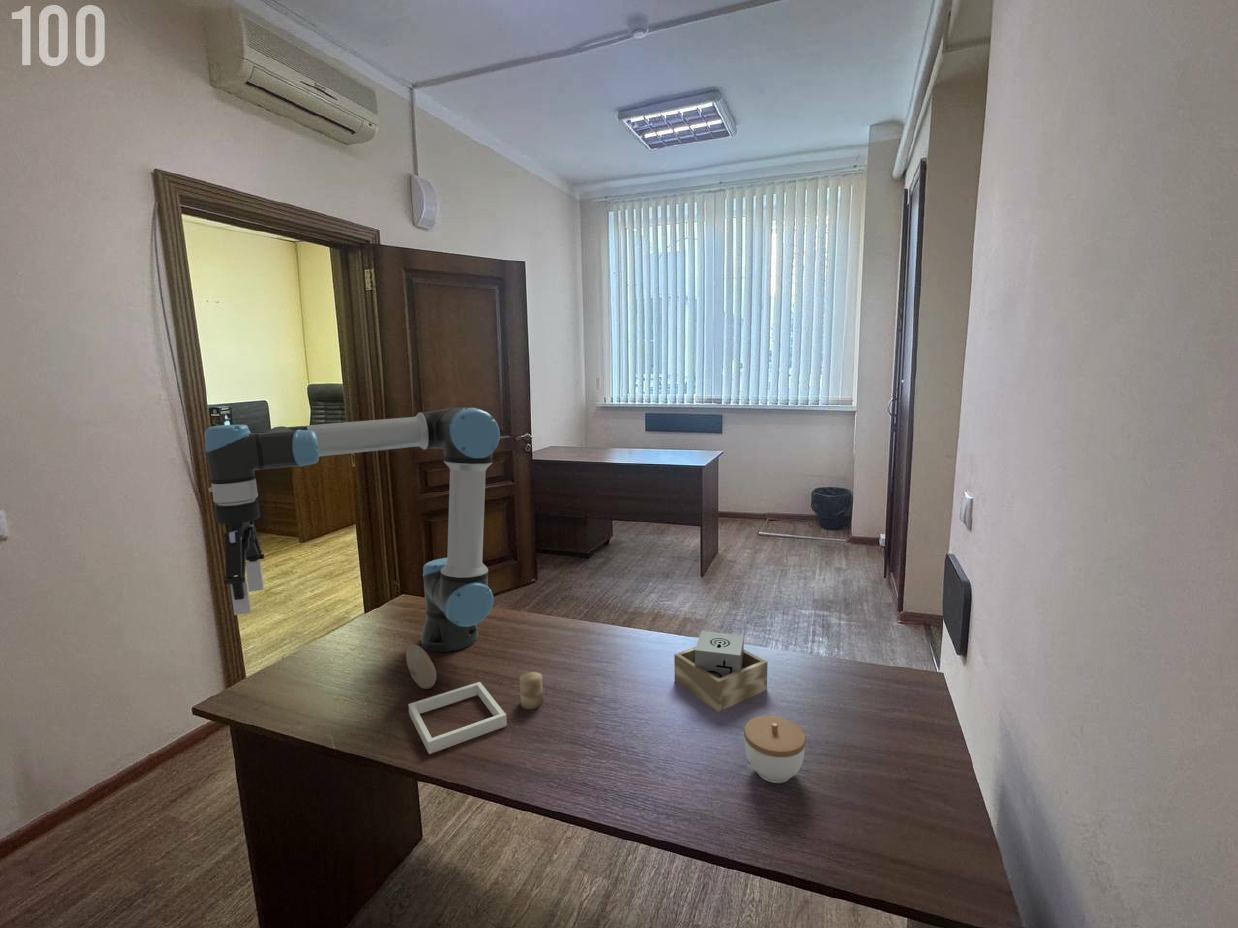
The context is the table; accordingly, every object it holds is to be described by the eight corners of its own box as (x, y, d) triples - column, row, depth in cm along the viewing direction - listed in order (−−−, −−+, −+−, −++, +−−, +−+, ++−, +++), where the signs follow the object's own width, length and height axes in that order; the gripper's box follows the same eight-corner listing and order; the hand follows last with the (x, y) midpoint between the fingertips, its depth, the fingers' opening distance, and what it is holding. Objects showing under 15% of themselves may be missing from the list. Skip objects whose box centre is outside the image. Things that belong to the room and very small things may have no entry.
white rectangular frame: (480, 691, 132) (479, 681, 132) (506, 725, 119) (506, 714, 119) (409, 714, 124) (408, 703, 124) (429, 754, 111) (428, 742, 110)
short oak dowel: (537, 694, 131) (536, 669, 130) (547, 704, 127) (545, 679, 126) (517, 701, 128) (515, 676, 127) (526, 711, 124) (525, 686, 123)
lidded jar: (771, 745, 111) (772, 700, 110) (817, 776, 102) (819, 728, 101) (731, 766, 106) (731, 719, 104) (775, 801, 97) (777, 750, 95)
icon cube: (739, 697, 127) (740, 655, 125) (694, 691, 129) (694, 649, 128) (743, 674, 136) (743, 635, 135) (701, 669, 139) (701, 630, 137)
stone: (442, 686, 135) (438, 639, 133) (422, 700, 129) (418, 651, 127) (423, 681, 137) (419, 634, 135) (403, 695, 132) (399, 646, 130)
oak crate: (721, 663, 143) (721, 637, 142) (766, 690, 131) (767, 661, 130) (674, 681, 135) (674, 654, 134) (718, 712, 123) (718, 681, 122)
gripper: (229, 492, 125) (242, 584, 129) (195, 517, 102) (212, 628, 106) (268, 488, 128) (280, 579, 131) (244, 512, 105) (259, 620, 109)
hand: (250, 601), depth 119 cm, fingers open, 13 cm apart
